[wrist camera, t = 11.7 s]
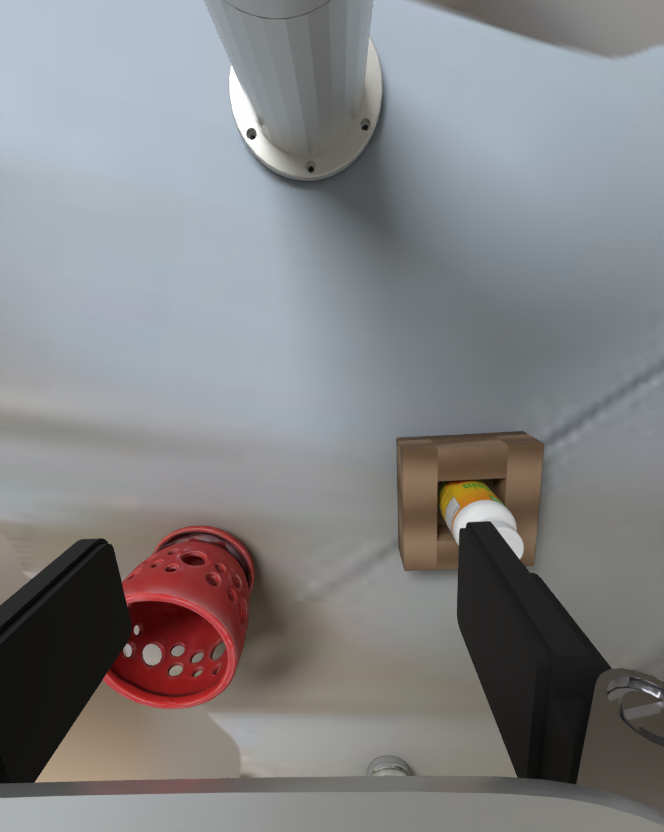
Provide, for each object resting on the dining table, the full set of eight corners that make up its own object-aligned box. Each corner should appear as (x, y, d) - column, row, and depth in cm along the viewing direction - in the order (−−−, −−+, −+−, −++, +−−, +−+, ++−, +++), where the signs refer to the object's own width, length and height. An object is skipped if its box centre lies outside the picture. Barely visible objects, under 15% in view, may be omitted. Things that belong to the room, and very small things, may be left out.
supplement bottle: (494, 478, 38) (544, 529, 29) (475, 523, 39) (518, 586, 30) (444, 465, 38) (478, 512, 28) (427, 511, 39) (455, 570, 30)
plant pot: (129, 551, 42) (49, 637, 31) (219, 495, 40) (170, 564, 29) (199, 630, 45) (150, 737, 33) (287, 581, 43) (267, 677, 31)
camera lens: (416, 781, 50) (430, 863, 43) (372, 791, 51) (378, 873, 43) (403, 749, 49) (415, 827, 41) (359, 759, 50) (362, 838, 42)
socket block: (396, 437, 38) (402, 450, 34) (523, 431, 38) (544, 443, 34) (398, 547, 41) (404, 570, 38) (515, 542, 41) (533, 565, 37)
